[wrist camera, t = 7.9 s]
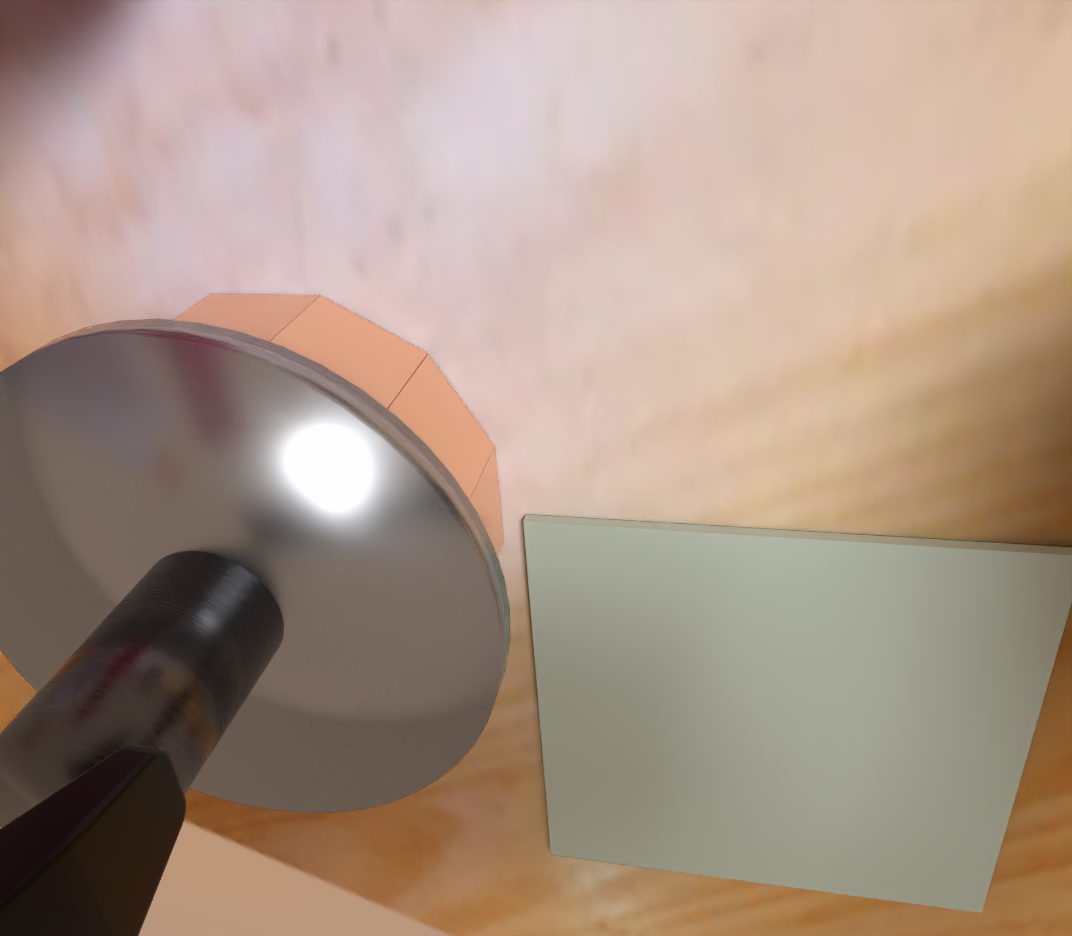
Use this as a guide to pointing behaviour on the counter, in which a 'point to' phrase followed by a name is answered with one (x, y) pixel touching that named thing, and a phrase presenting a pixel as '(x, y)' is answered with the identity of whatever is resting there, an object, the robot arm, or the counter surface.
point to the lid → (234, 575)
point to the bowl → (373, 379)
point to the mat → (790, 700)
